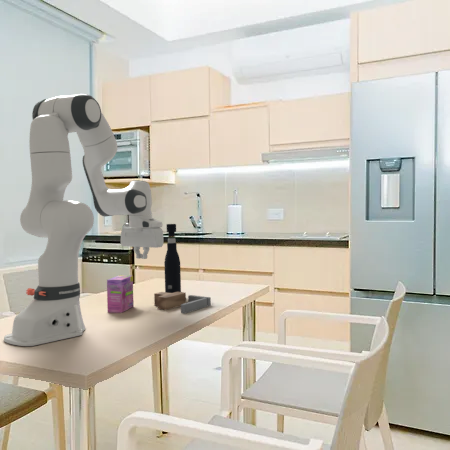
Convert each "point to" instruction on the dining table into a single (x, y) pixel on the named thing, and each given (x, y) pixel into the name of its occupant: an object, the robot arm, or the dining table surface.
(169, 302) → the t block
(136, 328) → the dining table surface
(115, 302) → the box
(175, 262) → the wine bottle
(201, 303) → the corner fence
